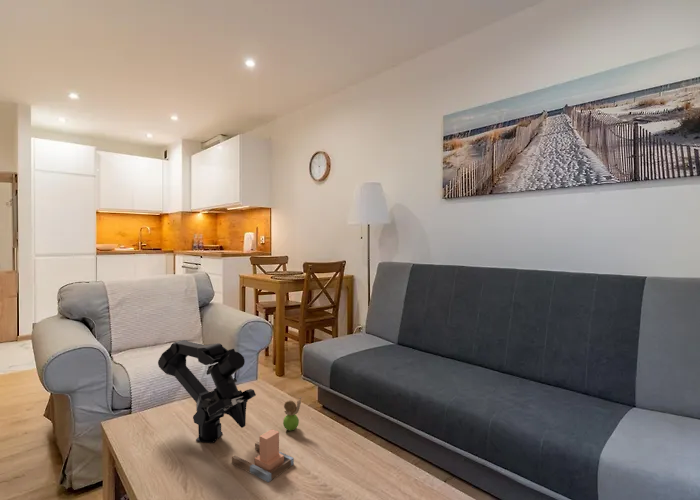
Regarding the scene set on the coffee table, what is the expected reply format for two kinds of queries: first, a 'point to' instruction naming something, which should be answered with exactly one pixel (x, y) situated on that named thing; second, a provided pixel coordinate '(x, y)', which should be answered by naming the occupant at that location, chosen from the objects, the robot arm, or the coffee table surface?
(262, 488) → the coffee table surface
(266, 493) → the coffee table surface
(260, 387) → the coffee table surface
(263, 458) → the block
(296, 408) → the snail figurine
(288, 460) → the beam slot
